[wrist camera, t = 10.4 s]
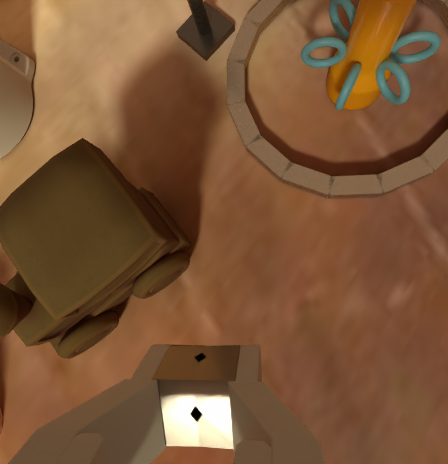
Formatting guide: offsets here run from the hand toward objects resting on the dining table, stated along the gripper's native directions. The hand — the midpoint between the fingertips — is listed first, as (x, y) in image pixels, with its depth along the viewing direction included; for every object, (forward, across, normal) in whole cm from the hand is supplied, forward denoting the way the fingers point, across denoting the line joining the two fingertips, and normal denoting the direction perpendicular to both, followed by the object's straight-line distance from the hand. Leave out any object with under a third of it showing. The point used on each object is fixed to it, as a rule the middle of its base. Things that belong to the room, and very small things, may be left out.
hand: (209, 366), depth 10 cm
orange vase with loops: (+35, -11, -12) cm, 39 cm away
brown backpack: (+29, +16, +7) cm, 34 cm away
